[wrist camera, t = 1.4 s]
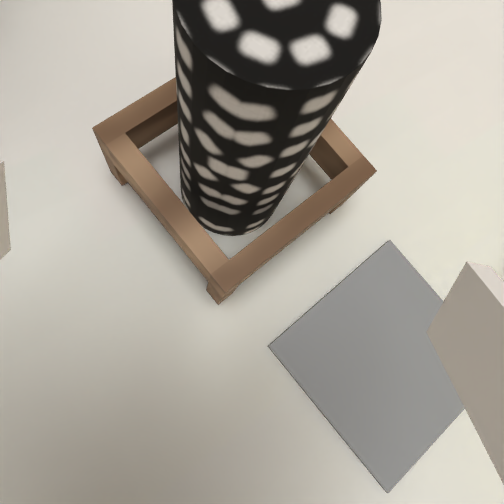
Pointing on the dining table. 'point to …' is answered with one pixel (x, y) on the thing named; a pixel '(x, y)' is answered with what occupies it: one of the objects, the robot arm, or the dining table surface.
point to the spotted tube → (259, 96)
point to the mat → (375, 364)
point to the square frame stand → (182, 221)
